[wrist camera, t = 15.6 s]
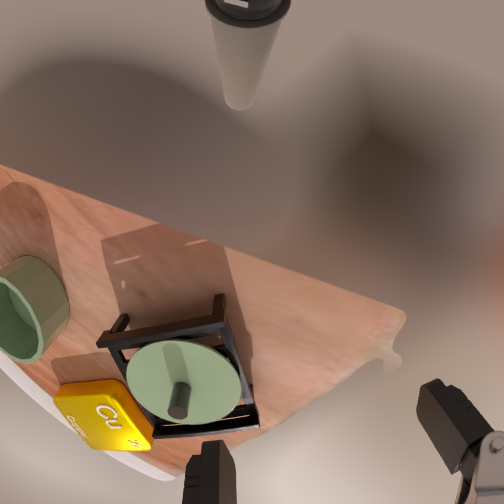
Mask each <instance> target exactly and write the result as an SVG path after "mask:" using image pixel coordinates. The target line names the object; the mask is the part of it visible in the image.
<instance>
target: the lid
mask: <svg viewBox="0 0 504 504" xmlns="http://www.w3.org/2000/svg"><path fill="white" fill-rule="evenodd" d="M126 378H127V383H128V386H129V389H130V391H131V393H132V394H133V396H134V397H135V399H136V400H137V401H138V402H139V403H140V404H141V405H142V406H143V407H144V408H146V409H147V410H148V411H150V412H151V413H153V414H155V415H156V416H158V417H160V418H163V419H165V420H168V421H171V422H175V423H180V424H187V425H198V424H206V423H211V422H214V421H217V420H219V419H221V418H223V417H225V416H226V415H228V414H229V413H230V412H231V411H232V410H233V409H234V408H235V407H236V406H237V404H238V402H239V400H240V396H241V381H240V377H239V375H238V373H237V371H236V369H235V368H234V366H233V365H232V364H231V363H230V361H229V360H228V359H226V358H225V357H224V356H223V355H222V354H220V353H219V352H217V351H216V350H214V349H212V348H210V347H208V346H206V345H204V344H201V343H198V342H195V341H190V340H185V339H162V340H157V341H153V342H151V343H148V344H146V345H144V346H142V347H141V348H140V349H138V350H137V351H136V352H135V353H134V354H133V356H132V357H131V359H130V361H129V363H128V366H127V371H126Z"/></svg>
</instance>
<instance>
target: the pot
mask: <svg viewBox="0 0 504 504" xmlns="http://www.w3.org/2000/svg"><path fill="white" fill-rule="evenodd" d="M69 313H70V309H69V301H68V297H67V294H66V291H65V289H64V286H63V284H62V282H61V281H60V279H59V278H58V276H57V275H56V273H55V272H54V271H53V270H52V269H51V268H50V267H49V266H48V265H47V264H46V263H45V262H43V261H42V260H40V259H38V258H36V257H33V256H21V257H19V258H16V259H14V260H12V261H10V262H8V263H7V264H5V265H3V266H1V267H0V350H1V351H2V352H3V353H4V354H6V355H7V356H8V357H9V358H10V359H13V360H15V361H17V362H20V363H22V364H27V363H35V362H36V361H37V360H38V359H39V358H40V357H41V356H42V355H43V354H44V352H45V351H46V350H47V349H48V348H49V346H50V345H51V344H52V343H53V342H54V341H55V339H56V338H57V337H58V336H59V335H60V334H61V333H62V331H63V330H64V329H65V327H66V325H67V323H68V320H69Z"/></svg>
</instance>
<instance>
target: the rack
mask: <svg viewBox="0 0 504 504" xmlns="http://www.w3.org/2000/svg"><path fill="white" fill-rule="evenodd" d="M225 308H226V300H225V297H224V294H219V295H215V297H214V304H213V311H212V315H209V316H204V317H199V318H194V319H189V320H184V321H179V322H174V323H168V324H163V325H158V326H152V327H146V328H141V329H135V330H129V331H124V330H125V328H126V327H127V325H128V323H129V322H130V319H129V317H128V315H127V314H123V315H120V316H119V317H118V319H117V320H116V322H115V323H114V325H113V326H112V328H111V329H110V330H107V331H104V332H103V333H102V335H101V336H100V338H99V339H98V341H97V342H96V345H97V347H98V348H106V347H108V349H109V351H110V353H111V355H112V357H113V359H114V361H115V362H116V364H117V366H118V368H119V370H120V372H121V373H122V375H123V377H124V379H125V381H126V382H127V378H126V371H127V366H128V363H129V361H130V359H129V360H126V359H125V357H124V355H123V353H122V351H121V350H124V349H131V348H138V347H142V346H144V345H146V344H148V343H151V342H153V341H157V340H162V339H185V340H187V339H192V338H198V337H203V336H208V335H213V334H218V333H220V334H221V337H222V340H223V343H224V344H222V345H217V346H212V347H210V348H212V349H214V350H216V351H217V352H219V353H220V354H222V355H223V356H224V357H225V358H229V360H230V363H231V364H232V365H233V366H234V368H235V369H236V371H237V373H238V375H239V377H240V381H241V396H240V398H243V399H244V402H245V404H244V405H238V406H236V407H235V408H234V409H233V410H232V411H231V412H230V413H229V414H228V415H226V416H225V417H223V418H221V419H225V418H232V417H238V416H244V415H250V416H246V417H240V418H234V419H227V420H220V421H214V422H211V423H206V424H198V425H187V424H186V425H174V426H164V425H171V424H180V423H175V422H171V421H168V420H165V419H163V418H160V417H158V416H156V415H155V414H153V413H151V412H150V411H148V410H147V409H146V408H144V407H143V406H142V405H141V404H140V403H139V404H140V406H141V407H142V409H143V410H144V412H145V414H146V415H147V417H148V418H149V420H150V421H151V423H152V424H153V426H154V429H153V433H152V437H153V438H154V439H165V438H181V437H194V436H204V435H213V434H222V433H229V432H236V431H243V430H249V429H255V428H260V421H259V412H258V409H257V406H256V404H255V401H254V391H253V387H252V384H250V385H249V383H248V380H247V377H246V374H245V371H244V368H243V365H242V362H241V359H240V356H239V352H238V349H237V346H236V343H235V340H234V337H233V334H232V330H231V327H230V324H229V321H228V317H227V314H226V311H225ZM127 384H128V383H127Z"/></svg>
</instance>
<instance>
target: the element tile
mask: <svg viewBox="0 0 504 504" xmlns="http://www.w3.org/2000/svg"><path fill="white" fill-rule="evenodd" d="M53 402H54V404H55V406H56V407H57V408H58V410H59V411H60V412H61V414H62V415H63V416H64V417H65V419H66V420H67V421H68V422H69V424H70V425H71V426H72V427H73V428H74V430H75V431H76V432H77V433H78V434H79V435H80V437H81V438H82V439H83V440H84V441H85V442H86V443H87V444H88V445H89V446H90V447H91V448H93V449H95V450H103V451H147V450H150V449H151V448H152V445H153V440H154V438H153V437H152V433H153V429H154V428H153V427H152V425H151V424H150V422H149V421H148V420H147V418H146V417H145V415H144V414H143V413H142V411H141V410H140V408H139V407H138V405H137V404H136V402H135V401H134V399H133V398H132V396H131V395H130V393H129V392H128V390H127V389H126V387H125V386H124V385H123V384H122V383H121V382H119V381H117V380H113V379H108V380H99V381H89V382H78V383H66V384H63V385H62V386H61V387H60V388H59V390H58V391H57V393H56V395H55V396H54V398H53Z"/></svg>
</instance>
